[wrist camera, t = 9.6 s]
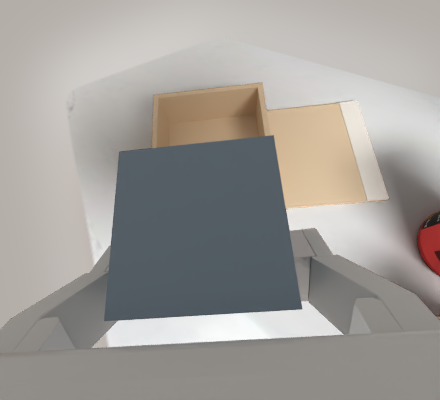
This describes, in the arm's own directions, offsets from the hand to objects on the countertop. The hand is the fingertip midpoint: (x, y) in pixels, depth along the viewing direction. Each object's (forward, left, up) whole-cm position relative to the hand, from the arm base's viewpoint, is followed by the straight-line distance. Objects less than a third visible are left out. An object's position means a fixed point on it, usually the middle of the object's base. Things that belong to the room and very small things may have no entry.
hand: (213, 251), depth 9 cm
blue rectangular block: (0, 0, -5) cm, 5 cm away
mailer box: (-5, -14, -19) cm, 24 cm away
